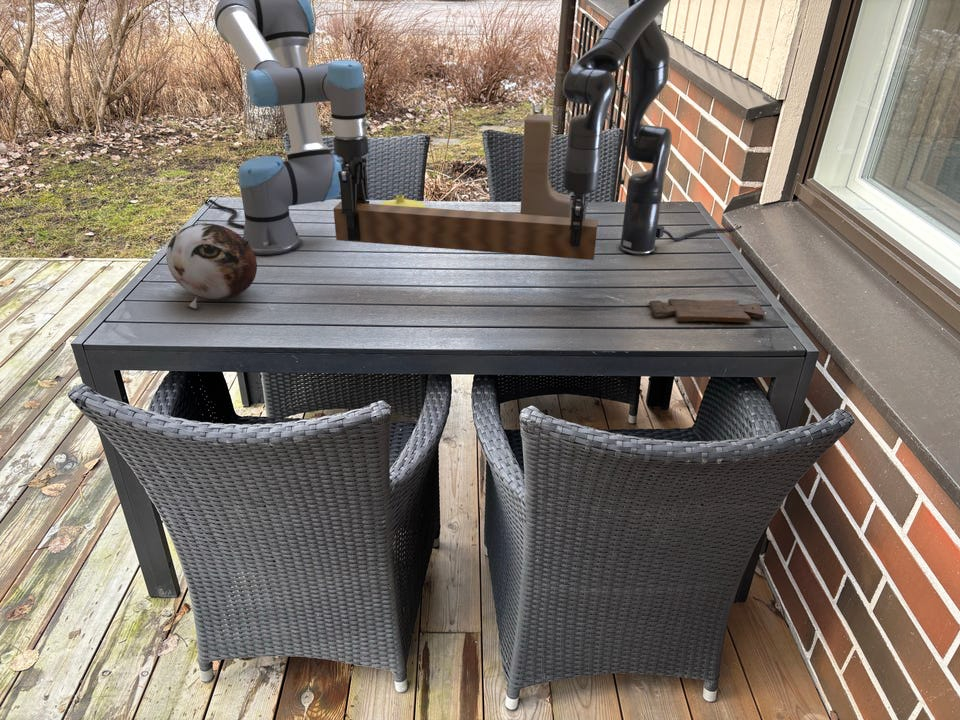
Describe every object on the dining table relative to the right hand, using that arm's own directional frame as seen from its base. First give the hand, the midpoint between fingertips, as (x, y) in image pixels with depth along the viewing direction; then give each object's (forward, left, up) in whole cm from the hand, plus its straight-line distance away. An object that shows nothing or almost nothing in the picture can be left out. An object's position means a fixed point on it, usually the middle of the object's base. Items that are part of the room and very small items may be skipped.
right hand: (575, 241), depth 162 cm
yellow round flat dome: (-13, -70, -15) cm, 72 cm away
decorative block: (-42, -36, -15) cm, 57 cm away
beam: (+13, -22, -3) cm, 26 cm away
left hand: (+26, -45, -3) cm, 52 cm away
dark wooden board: (-14, +28, -15) cm, 35 cm away
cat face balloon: (+53, -64, -15) cm, 85 cm away
